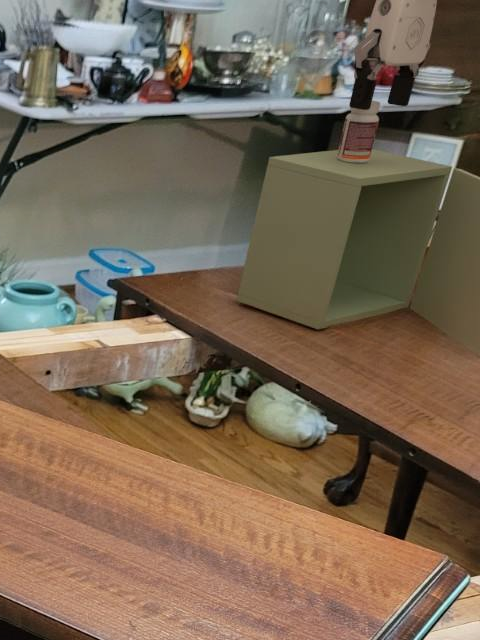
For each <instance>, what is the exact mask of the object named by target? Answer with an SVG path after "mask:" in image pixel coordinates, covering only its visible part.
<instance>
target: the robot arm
mask: <svg viewBox="0 0 480 640" xmlns="http://www.w3.org/2000/svg"><path fill="white" fill-rule="evenodd" d="M437 1H438V0H375V3H374V6H373V9H372V12H371V15H370V18H369V21H368V25H367V29H366V32H365V36H364V39H363V40H361V41H360V42H359V43H357V45H356V46H355V47H354V62H353V67H354V74H353V77H354V79H355V80H354V84H353V88H352V91H351V96H350V100H349V103H348V104H349V108H356V109H362V110H369V109H370V106H371V102H372V101H373V98H374V95H375V91H376V86H377V82H378V80H376V77H377V75H378V74H379V72H380V71H381V69H382V68H383V67H384V65H386V66H387V67H396V71H397V74H394V75H393V78H392V83H391V86H390V90H389V93H388V94H389V95H388V99H387V104H388V105H393V106H400V107H407V106H409V103H410V100H411V96H412V91H413V88H414V85H415V81H416V77H417V78H418V75H419V73H420V68H421V67H422V66H423V64H424V63H425V59H426V56H427V54H428V52H429V50H430V48H431V44H432V43H431V42H430V40H431V37H432V31H433V28H434V21H435V17H436V16H435V15H436V10H437V4H438V2H437ZM371 66H372V67H371Z"/></svg>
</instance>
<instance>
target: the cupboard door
mask: <svg viewBox="0 0 480 640" xmlns="http://www.w3.org/2000/svg"><path fill="white" fill-rule="evenodd" d="M451 173H452V174H451V175H450V178H449V179H450V180H449V181H448V185H447V188H446V189H447V190H446V191H445V196H444V198H443V200H442V201H443V202H442V205H441V208H440V210H439V215H438V216H437V217H438V218H437V219H436V220H437V221H436V222H435V227H434V229H433V232H432V235H431V238H430V242H429V245H428V249H427V252H426V255H425V257H424V260H423V263H422V264H423V265H422V267H421V270H420V275H419V276H418V279H417V282H416V285H415V286H416V287H415V289H414V292H413V295H412V298H411V301H410V304H409V305H410V306H409V309H410V310H411V311H413V312H414V313H416V314H417V315H419V316H420V317H422V318H423V319H424V320H426V321H427V322H429V323H430V324H431V325H433V326H434V327H436V328H437V329H439V330H440V331H441V332H443V333H444V334H445V335H447V336H449V337H450V338H451V339H452V340H454V341H456V342H457V343H459V344H460V345H461V346H462V347H464V348H466V349H467V350H469V351H470V352H471V353H473V354H475V356H477V357H479V358H480V176H478V175H476V174H473V173H471V172H469V171H466V170H464V169H461V168H455V167H454V168H453V170H452V172H451Z"/></svg>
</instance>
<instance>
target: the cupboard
mask: <svg viewBox="0 0 480 640" xmlns="http://www.w3.org/2000/svg"><path fill="white" fill-rule="evenodd" d="M338 150H339V149H334V150H324V151H316V152H315V151H314V152H306V153H295V154H287V155H275V156H269V158H268V161H267V162H268V163H267V165H266V170H265V175H264V179H263V182H262V183H263V184H262V188H261V192H260V196H259V201H258V204H257V210H256V214H255V218H254V223H253V227H252V231H251V235H250V238H249V239H250V240H249V244H248V248H247V254H246V257H245V260H244V261H245V262H244V266H243V270H242V274H241V279H240V283H239V288H238V292H237V296H236V302H239V303H242V304H244V305H247V306H250V307H253V308H256V309H259V310H261V311H264V312H267V313H270V314H272V315H276V316H279V317H282V318H284V319H286V320H289V321H292V322H295V323H298V324H301V325H304V326H307V327H309V328H311V329H312V328H313V329H315V330H322V329H326V328H330V327H331V326H333V325H334V326H335V325H338V324H345V323H350V322H353V321H360V320H364V319H368V318H371V317H377V316H380V315H383V314H387V313H392V312H395V311H399V310H402V309H405V308H409V307H410V306H409V305H410V304H411V300H412V297H413V294H414V291H415V288H416V287H415V286H416V284H417V281H418V278H419V273H420V272H421V269H422V264H423V262H424V259H425V256H426V255H425V254H426V253H427V252H426V251H427V250H428V249H427V248H428V246H429V243H430V242H429V241H430V240H431V237H432V234H433V231H434V226H435V224H436V220H437V217H438V213H439V212H440V207H441V204H442V201H443V199H444V198H443V197H444V194H445V193H446V189H447V186H448V183H449V179H450V177H451V173H452V169H453V166H452V165H448V164H444V163H438V162H433V161H430V160H424V159H420V158H416V157H415V158H414V157H411V156H406V155H401V154H396V153H391V152H386V151H382V150H378V149H373V148H372V151H371V155H370V159H369V161H368V162H365V163H351V162H344V161H340V160H338V159H337V155H338Z"/></svg>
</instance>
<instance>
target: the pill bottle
mask: <svg viewBox="0 0 480 640" xmlns="http://www.w3.org/2000/svg"><path fill="white" fill-rule="evenodd" d="M380 107H381V102H380V101H376V100H372V102H371V106H370V109H369V110H362V109H356V108H351V107H349V108H350V110H349V111H350V113H348V114H347V115H346V116H345V119H344V123H343V129H342V133H341V137H340V142H339V146H338V149H337V150H338V155H337V159H338V160H340V161H344V162H351V163H365V162H368V161H369V159H370V155H371V151H372V149H373V146H374V143H375V142H374V141H375V137H376V134H377V129H378V126H379V121H380V117H379V116H378V113H379V111H380Z"/></svg>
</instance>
